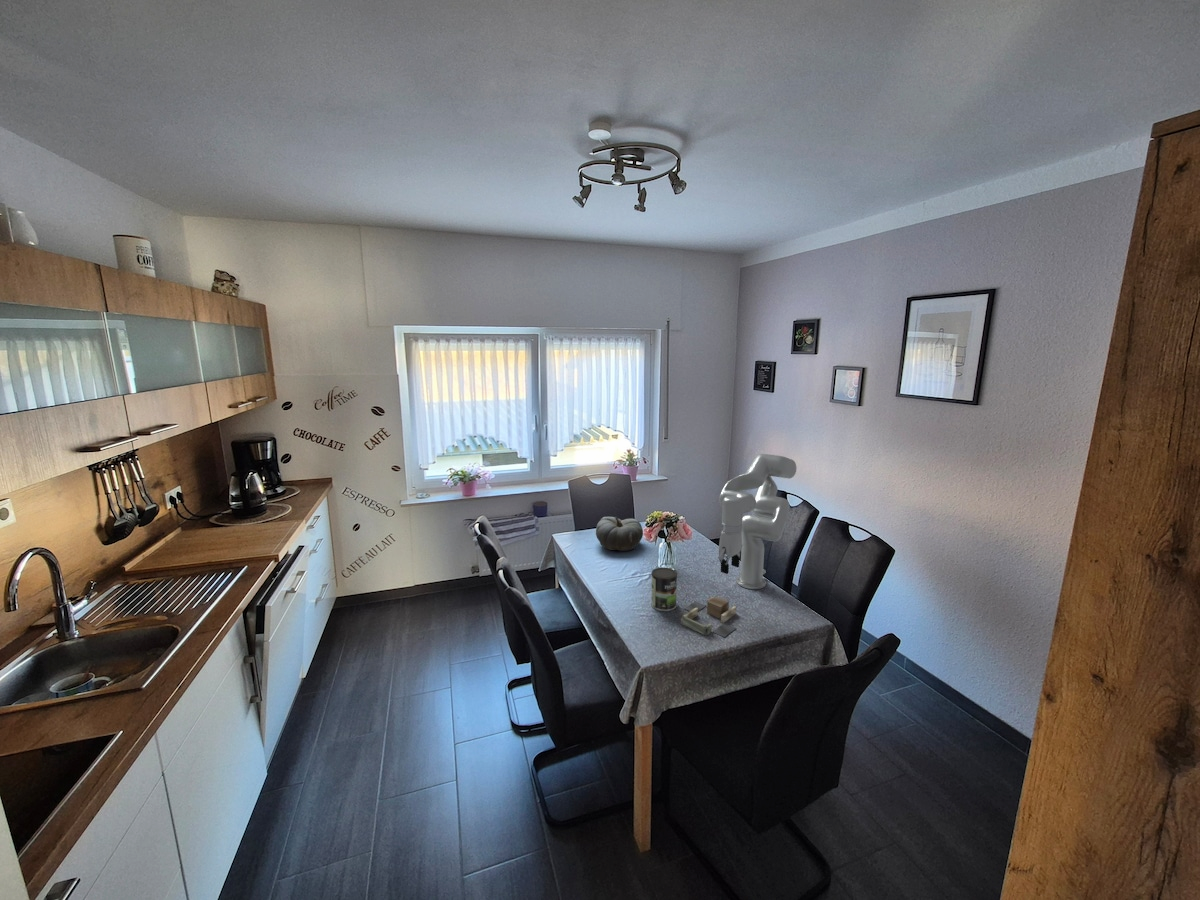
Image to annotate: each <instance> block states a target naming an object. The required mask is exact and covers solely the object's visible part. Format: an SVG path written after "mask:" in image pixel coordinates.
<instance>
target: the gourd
mask: <svg viewBox="0 0 1200 900" xmlns="http://www.w3.org/2000/svg"><path fill="white" fill-rule="evenodd" d="M643 535H644V528H643V527H642V524H641V522H640V521H639V520H637V519H635V518H625V519H620V518H618V516H603V517H602V518H600V520H599V521H598V523H597V524H596V528H595V537H596V538H597V540H598V542H599V544H600V545H602V547H603V548H604V549H607V550H609V551H615V550H617V551H619V552H626V551H631V550H632V549H634V548H636V547H637V546H638V545H639V544H640V543H641V540H642V539H643Z"/></svg>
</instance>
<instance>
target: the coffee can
mask: <svg viewBox="0 0 1200 900" xmlns="http://www.w3.org/2000/svg"><path fill="white" fill-rule="evenodd" d="M677 576H678V572H677V571H676V570H675V569H672V568H670V567H656V568H654V569H652V571H651V607H652V608H653V609H654V610H656V611H659V612H660V611H661V612H671V611H673V610H675V609H676V608H677V585H678V584H677V582H678V580H677V579H678V577H677Z"/></svg>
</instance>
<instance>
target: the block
mask: <svg viewBox="0 0 1200 900" xmlns="http://www.w3.org/2000/svg"><path fill="white" fill-rule="evenodd" d="M713 597H714V598H712V599H711V600H709V601H708V602H706V614H709V615H711V616H713V617H714V618H718V619H720V620H721V615H722V614H723V613H725V612H726V611H727V610H729V609H730V608H729V607H730V601H728V600H726V599H724V598H722V597H719V596H713Z"/></svg>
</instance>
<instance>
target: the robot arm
mask: <svg viewBox="0 0 1200 900" xmlns="http://www.w3.org/2000/svg"><path fill="white" fill-rule="evenodd" d="M796 472H797V463H796V462H795V460H793V459H792V458H789V457H786V456H784V455H783V456H782V455H776V454H768V453H759V454H757V455H756V456H755V457H754V459H753V460H752V461H751V463H750V464H749V467H747V469H746V471H745V473H743V474H740V475H737V476H735V477H734V478H731V479H730V480H728V481H727V482H726V483H725V485H724V486H723V488H722V489H721V492H720V494H719V497H718V502H719V505H720V506H721V507H722V510H721V511H722V512H721V513H722V516H721V532H720V537H719V543H718V557H717V558H718V560H719V563H720V572H721V573H722V574H726V575H728V574H729V570H730V569H729V567H730V565H729V562H730V558H731V566H732V567H735V568H740V573H739V575H738V576H737V577H736V583H737V584H738V585H739V586H740V587H742V588H745V589H749V590H760V589H763V588H765V587H766V586H767V581H766V580H765V578H763V576H764V574H766V569H764V562H765V561H764V559H765V557H764V556H765V545H764V542H763V540H766V541H771V542H778V541H780V540H781V538H782V536H783V534H784V533H783V532H784V529H785V526H786V523H787V521H788V518H789V514H790V510H791V509H790V508H791V506H790V502H789V501H788V500H787V499H786V498H784V497H779V496H777V493H778V490H779V489H778V485H777V484H776V482H775V481H774V479H773V478H772V477H775V478H783V479H792V478H793V477H794V476H795V475H796ZM755 489H756V491H755V492H754V493H755V494H751V493H748V492H743V491H748V490H749V491H750V490H755ZM749 512H752V513H753V514H751V513H749ZM746 513H748V514H746ZM743 514H745V515H743Z"/></svg>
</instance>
